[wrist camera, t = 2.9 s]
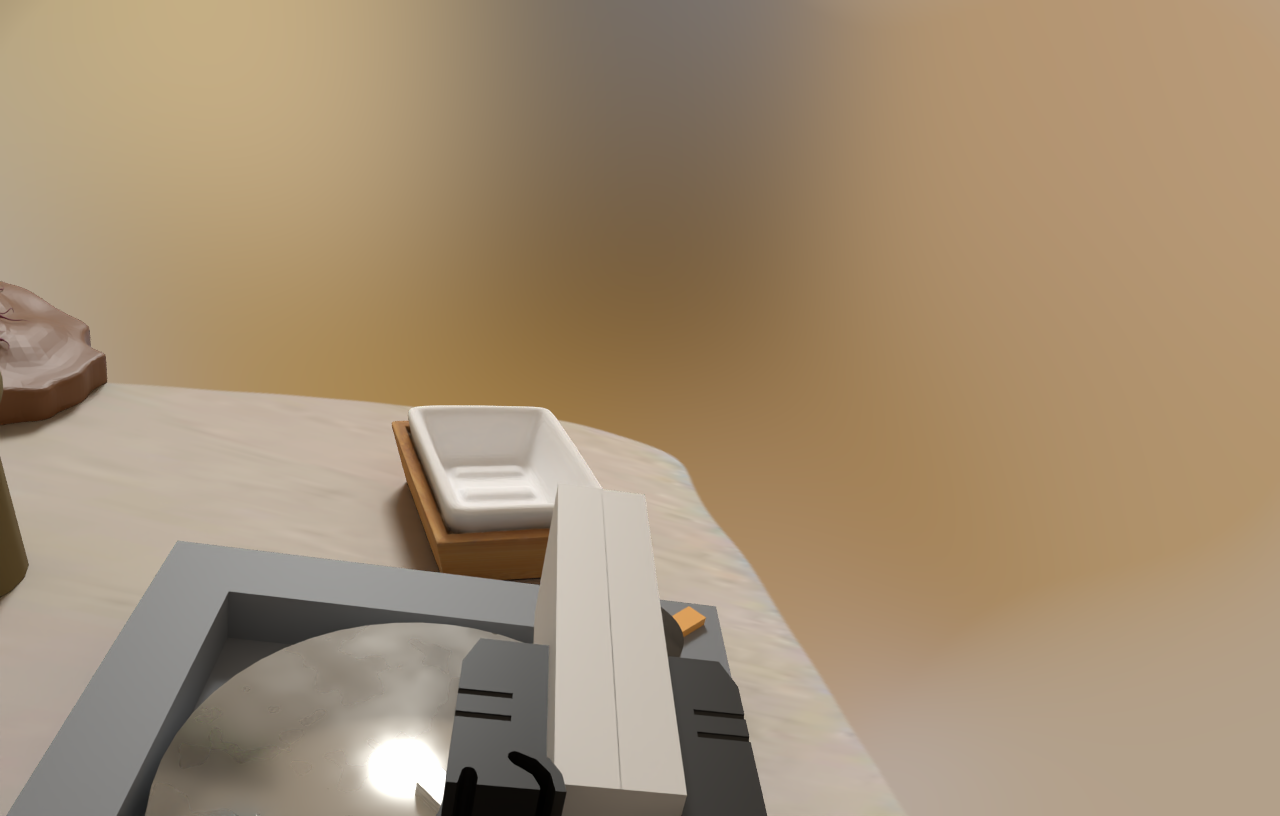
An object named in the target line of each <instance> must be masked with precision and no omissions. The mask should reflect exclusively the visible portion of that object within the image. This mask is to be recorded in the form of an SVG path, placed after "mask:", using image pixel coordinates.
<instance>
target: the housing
mask: <svg viewBox="0 0 1280 816" xmlns="http://www.w3.org/2000/svg"><path fill="white" fill-rule="evenodd" d="M539 587H540V585H535V584H527V583H519V582H511V581H503V580H495V579H486V578H478V577H470V576H462V575H454V574H446V573H437V572H429V571H421V570H413V569H405V568H397V567H388V566H380V565H372V564H364V563H356V562H347V561H339V560H331V559H323V558H315V557H307V556H298V555H290V554H282V553H274V552H266V551H258V550H249V549H241V548H233V547H225V546H217V545H209V544H200V543H192V542H184V541H177V542H176V544H175V545H174V547H173V549H172V550H171V552H170V554H169V555H168V557H167V558H166V560H165V562H164V563H163V565H162V566H161V568H160V570H159V571H158V573H157V574H156V576H155V578H154V579H153V581H152V582H151V584H150V586H149V587H148V589H147V590H146V592H145V594H144V595H143V597H142V599H141V600H140V602H139V603H138V605H137V607H136V608H135V610H134V611H133V613H132V615H131V616H130V618H129V619H128V621H127V623H126V624H125V626H124V627H123V629H122V631H121V632H120V634H119V635H118V637H117V639H116V640H115V642H114V644H113V645H112V647H111V648H110V650H109V652H108V653H107V655H106V656H105V658H104V660H103V661H102V663H101V664H100V666H99V668H98V669H97V671H96V672H95V674H94V676H93V677H92V679H91V681H90V682H89V684H88V685H87V687H86V689H85V690H84V692H83V693H82V695H81V697H80V698H79V700H78V701H77V703H76V705H75V706H74V708H73V709H72V711H71V713H70V714H69V716H68V717H67V719H66V721H65V722H64V724H63V726H62V727H61V729H60V730H59V732H58V734H57V735H56V737H55V738H54V740H53V742H52V743H51V745H50V746H49V748H48V750H47V751H46V753H45V754H44V756H43V758H42V759H41V761H40V762H39V764H38V766H37V767H36V769H35V771H34V772H33V774H32V775H31V777H30V779H29V780H28V782H27V783H26V785H25V787H24V788H23V790H22V791H21V793H20V795H19V796H18V798H17V799H16V801H15V803H14V804H13V806H12V807H11V809H10V811H9V812H8V814H7V816H145V814H146V809H147V804H148V799H149V795H150V790H151V785H152V783H153V780H154V778H155V775H156V772H157V770H158V767H159V765H160V762H161V759H162V758H163V756H164V754H165V752H166V751H167V749H168V747H169V745H170V744H171V742H172V740H173V738H174V737H175V735H176V734H177V732H178V731H179V730H180V729H181V727H182V726H183V725H184V723H185V722H186V721H187V720H188V718H189V717H190V716H191V714H192V713H193V712H194V711H195V710H196V709H197V708H198V707H199V706H200V705H201V704H202V703H203V702H204V701H205V700H206V699H207V698H208V697H209V696H210V695H211V694H212V693H213V692H214V691H216V690H217V689H218V688H220V687H221V686H222V685H223V684H225V683H226V682H227V681H229V680H230V679H231V678H232V677H234V676H235V675H236V674H238V673H240V672H241V671H243V670H245V669H246V668H248V667H249V666H251V665H253V664H254V663H256V662H258V661H259V660H261V659H263V658H265V657H267V656H269V655H271V654H273V653H275V652H278V651H280V650H282V649H284V648H286V647H289V646H291V645H294V644H297V643H299V642H302V641H305V640H307V639H310V638H313V637H317V636H320V635H324V634H328V633H332V632H335V631H339V630H344V629H350V628H355V627H361V626H366V625H377V624H388V623H435V624H448V625H455V626H461V627H468V628H474V629H479V630H483V631H487V632H491V633H495V634H499V635H503V636H506V637H509V638H511V639H514V640H517V641H520V642H523V643H531V644H533V643H534V621H535V609H536V604H537V598H538V593H539ZM660 606H661V607H662V608H663V609H664V610H666V611H667V612H668V613H669V614H670V615H671V616H672V617H673V618H674V619H675V620H676V621H677V623H678V624H679V626H680V628H681V630H682V633H683V637H684V645H683V650H682V653H681V658H690V659H699V660H708V661H717V662H720V664H721V665H722V666H723V668H724V669H725V670H726V672H727V673H728V674H729V676H730V677H731V674H730V669H729V665H728V660H727V655H726V651H725V646H724V642H723V637H722V633H721V628H720V623H719V619H718V614H717V610H716V607H715V606H707V605H699V604H691V603H682V602H674V601H666V600H660Z"/></svg>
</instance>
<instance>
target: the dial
mask: <svg viewBox="0 0 1280 816" xmlns="http://www.w3.org/2000/svg"><path fill="white" fill-rule="evenodd" d="M661 613H662V620H663V627H664V634H665V641H666V649H667V656H672V657H681V653H682V650H683V645H684V637H683V633H682V630H681V628H680V626H679V624H678V623H677V621H676V620H675V619H674V618H673V617H672V616H671V615H670V614H669V613H668V612H667V611H666V610H664V609H663V608H662V607H661ZM480 638H485V639H494V640H503V641H513V642H520V641H517V640H514V639H511V638H509V637H506V636H503V635H499V634H495V633H491V632H487V631H483V630H479V629H474V628H468V627H461V626H455V625H448V624H435V623H388V624H377V625H366V626H361V627H355V628H350V629H344V630H339V631H335V632H332V633H328V634H324V635H320V636H317V637H313V638H310V639H307V640H305V641H302V642H299V643H297V644H294V645H291V646H289V647H286V648H284V649H282V650H280V651H278V652H275V653H273V654H271V655H269V656H267V657H265V658H263V659H261V660H259V661H258V662H256V663H254V664H253V665H251V666H249V667H248V668H246V669H245V670H243V671H241V672H240V673H238V674H236V675H235V676H234V677H232V678H231V679H230V680H229V681H227V682H226V683H225V684H223V685H222V686H221V687H220V688H218V689H217V690H216V691H214V692H213V693H212V694H211V695H210V696H209V697H208V698H207V699H206V700H205V701H204V702H203V703H202V704H201V705H200V706H199V707H198V708H197V709H196V710H195V711H194V712H193V713H192V714H191V716H190V717H189V718H188V720H187V721H186V722H185V723H184V725H183V726H182V727H181V729H180V730H179V731H178V732H177V734H176V735H175V737H174V738H173V740H172V742H171V744H170V745H169V747H168V749H167V751H166V752H165V754H164V756H163V758H162V759H161V762H160V765H159V767H158V770H157V772H156V775H155V778H154V780H153V783H152V785H151V790H150V795H149V799H148V804H147V809H146V814H145V816H436V814H437V813H438V811H439V809H440V806H441V802H442V799H443V792H444V785H445V778H446V771H447V764H448V757H449V750H450V743H451V736H452V729H453V722H454V715H455V708H456V701H457V694H458V688H459V681H460V674H461V667H462V660H463V659H464V658H465V657H466V655H467V654H468V653H469V652H470V650H471V649H472V648H473V647H474V645H475V644H476V643H477V642H478V640H479V639H480ZM522 643H523V642H522Z"/></svg>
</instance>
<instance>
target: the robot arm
mask: <svg viewBox="0 0 1280 816" xmlns="http://www.w3.org/2000/svg"><path fill="white" fill-rule="evenodd" d="M436 816H767V813H766V808H765V804H764V799H763V795H762V791H761V786H760V782H759V777H758V773H757V769H756V764H755V760H754V755H753V751H752V747H751V742H749V733H748V729H747V725H746V720H744V711H743V707H742V703H741V698H740V694H739V689H738V686H737V685H736V684H735V682H734V681H733V680H732V678H731V677H730V676H729V674H728V673H727V672H726V670H725V669H724V668H723V666H722V665H721V664H720V662H717V661H708V660H699V659H690V658H681V657H672V656H667V649H666V641H665V634H664V627H663V620H662V613H661V606H660V598H659V591H658V584H657V577H656V570H655V563H654V556H653V548H652V541H651V534H650V527H649V520H648V513H647V506H646V498H645V494H637V493H629V492H622V491H614V490H607V489H599V488H592V487H584V486H576V485H569V484H561V483H558V487H557V493H556V498H555V504H554V509H553V515H552V520H551V526H550V531H549V537H548V543H547V548H546V554H545V559H544V565H543V570H542V576H541V581H540V587H539V593H538V598H537V604H536V609H535V621H534V643H533V644H531V643H522V642H513V641H503V640H494V639H485V638H480V639H479V640H478V642H477V643H476V644H475V645H474V647H473V648H472V649H471V650H470V652H469V653H468V654H467V655H466V657H465V658H464V659H463V660H462V667H461V674H460V681H459V688H458V694H457V701H456V708H455V715H454V722H453V729H452V736H451V743H450V750H449V757H448V764H447V771H446V778H445V785H444V792H443V799H442V802H441V806H440V809H439V811H438V813H437V814H436Z"/></svg>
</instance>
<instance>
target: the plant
mask: <svg viewBox="0 0 1280 816" xmlns="http://www.w3.org/2000/svg"><path fill="white" fill-rule="evenodd" d="M0 372H1V375H2V378H3V394H2V398H1V402H0V425H5V424H11V423H18V422H29V421H40V420H45V419H48V418H51V417H52V416H54V415H55V414H57V413H58V412H60V411H62V410H65V409H67V408H70V407H72V406H75V405H77V404H78V403H80V402H82V401H83V400H85V399H86V398H87V396H88V395H89V394H90V392H92V391H93V390H94V389H96V388H97V387H99V386H101V385H102V384H104V383H107V368H106V356H105V354H104V353H102V352H100V351H98V350H95V349H93V348H91V344H90V330H89V327H88V326H87V325H86V324H85V323H84V322H82V321H81V320H79V319H76V318H74V317H72V316H70V315H68V314H66V313H64V312H62V311H60V310H58V309H57V308H55V307H54V306H52V305H50V304H49V303H48V302H46V301H45V300H43V299H42V298H40V297H39V296H37V295H35V294H34V293H32V292H30V291H29V290H27V289H24V288H22V287H19V286H15V285H11V284H8V283H5V282H1V281H0Z"/></svg>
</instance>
